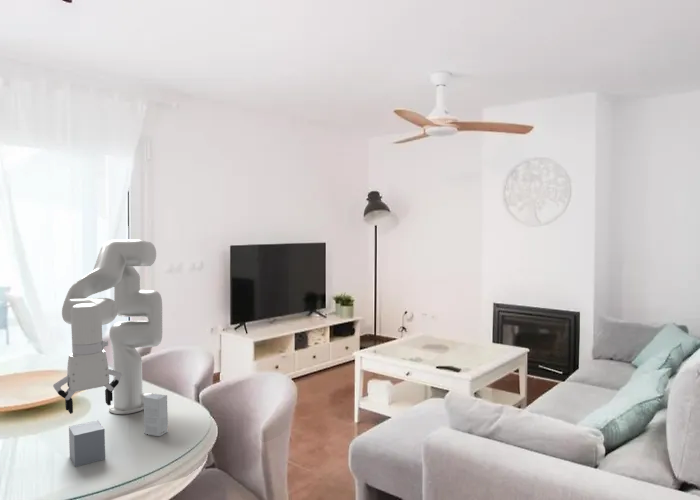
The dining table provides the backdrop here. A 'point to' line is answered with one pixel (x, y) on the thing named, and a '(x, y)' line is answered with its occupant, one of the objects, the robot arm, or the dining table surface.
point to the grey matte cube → (87, 443)
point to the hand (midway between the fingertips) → (89, 407)
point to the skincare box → (155, 414)
